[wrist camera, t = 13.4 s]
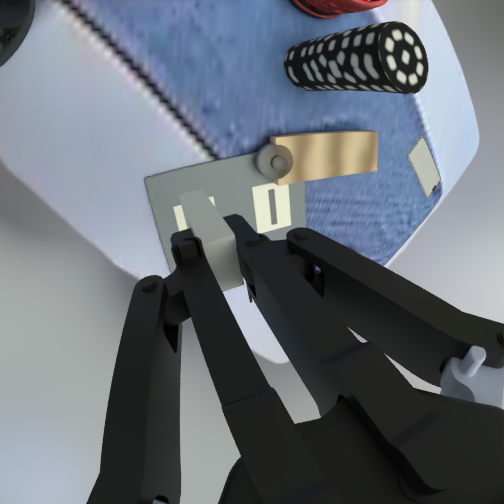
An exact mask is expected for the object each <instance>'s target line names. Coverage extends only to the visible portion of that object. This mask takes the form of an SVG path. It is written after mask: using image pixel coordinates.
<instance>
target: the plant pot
mask: <svg viewBox="0 0 504 504" xmlns="http://www.w3.org/2000/svg"><path fill="white" fill-rule="evenodd" d="M293 1H294V3H295V4H296V5H297V6H299V7H300V8H301V9H303V10H304V11H306V12H307V13H309V14H312V15H314V16H317V17H321V18H335V17H338V16H340V15H341V14H343V13H355V12H361V11H366V10H370V9H373V8H376V7H379V6H382V5H383V4H385V3H386V2H387V1H388V0H369V1H367V0H293Z"/></svg>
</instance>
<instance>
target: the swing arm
mask: <svg viewBox="0 0 504 504" xmlns="http://www.w3.org/2000/svg"><path fill="white" fill-rule="evenodd" d="M377 151H378V132H377V131H372V130H348V131H326V132H310V133H298V134H287V135H277V136H270V143H268V144H265V145H263V146H262V147H261V148H260V149H259V150H258V152H257V154H256V157H255V164H256V167H257V169H258V171H259V172H260V173H261V174H263V175H265V176H266V177H268V178H270V179H273V183H275V184H276V185H278V186H281V185H286V184H292V183H298V182H304V181H310V180H316V179H322V178H329V177H335V176H342V175H349V174H356V173H364V172H372V171H377Z"/></svg>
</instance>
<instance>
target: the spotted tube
mask: <svg viewBox="0 0 504 504" xmlns="http://www.w3.org/2000/svg"><path fill="white" fill-rule="evenodd" d="M284 67H285V71H286V74H287V76H288V78H289V79H290V81H291V82H292V83H293V84H294V85H295V86H297V87H298V88H300V89H303V90H307V91H323V90H350V91H376V92H390V93H402V94H415V93H417V92H419V91H420V90H421V89H422V88H423V87H424V85H425V83H426V80H427V77H428V59H427V54H426V51H425V48H424V46H423V44H422V42H421V40H420V38H419V37H418V35H417V34H416V33H415V32H414V31H413V30H412V29H411V28H410V27H409V26H407V25H406V24H404V23H402V22H398V21H392V22H385V23H379V24H374V25H368V26H363V27H359V28H354V29H350V30H345V31H341V32H337V33H333V34H330V35H326V36H322V37H319V38H315V39H312V40H309V41H306V42H302V43H299V44H296V45H294V46H293V47H292V48H290V49H289V51H288V52H287V54H286V56H285V61H284Z"/></svg>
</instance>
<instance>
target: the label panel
mask: <svg viewBox="0 0 504 504" xmlns="http://www.w3.org/2000/svg"><path fill="white" fill-rule="evenodd" d="M256 154H257V152H253V153H248V154H243V155H238V156H233V157H228V158H223V159H218V160H214V161H209V162H205V163H200V164H196V165H192V166H188V167H184V168H180V169H176V170H172V171H168V172H164V173H160V174H157V175H153V176H149V177H146V178H145V183H146V187H147V191H148V195H149V199H150V202H151V206H152V210H153V213H154V217H155V221H156V224H157V228H158V231H159V235H160V238H161V241H162V245H163V248H164V251H165V255H166V258H167V261H168V264H169V267H170V270H171V273H173V272H174V270H175V269H176V264H175V261H174V258H173V255H172V252H171V246H172V245H171V241H170V238H171V236H172V234H173V233H175V232H178V231H182V230H185V229H187V225H186V221H185V218H184V214H183V210H182V206H181V202H180V199H179V195H181V194H185V193H188V192H192V191H195V190H199V189H203V191H204V192H205V193H206V195H207V196H208V198H209V199H210V201H211V202H212V203H213V205H214V206H215V208H216V209H217V210H218V212H219V213H220V215H221V216H222V217H225V216H229V215H232V214H238V215H241V216H243V218H244V219H245V220H246V221H247V222H248V223H249V225H250V226H251V227H252V228H253V229H254V230H255V231H256V233H261V234H264V235H266V236H267V237H268V238H269V239H270V240H284V239H286V234H287V232H288V231H290V230H291V229H294V228H299V227H304V228H306V207H305V186H304V182H298V183H292V184H286V185H281V186H278V185H276V184H275V183H273V179H270V178H268V177H266V176H265V175H263V174H261V173H260V172H259V171H258V169H257V167H256V164H255V157H256Z"/></svg>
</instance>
